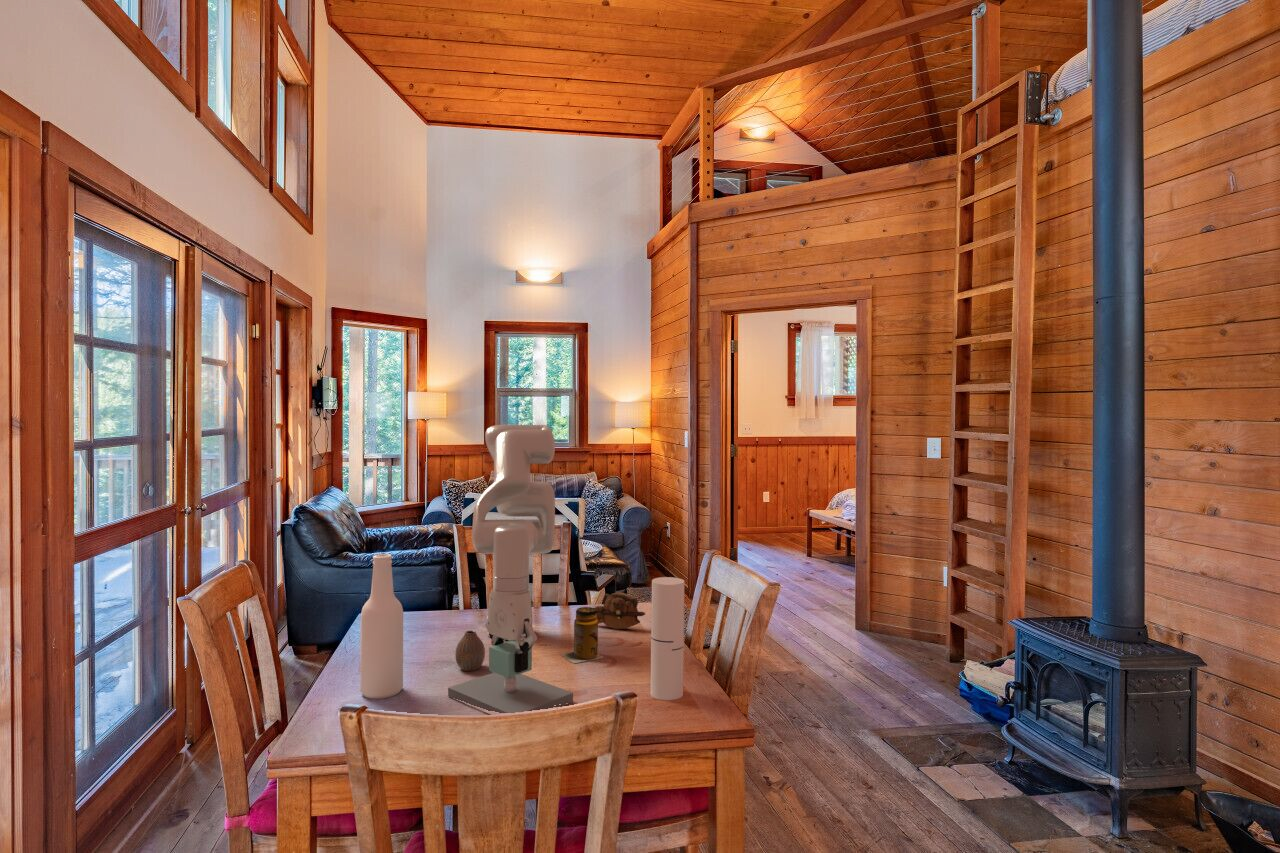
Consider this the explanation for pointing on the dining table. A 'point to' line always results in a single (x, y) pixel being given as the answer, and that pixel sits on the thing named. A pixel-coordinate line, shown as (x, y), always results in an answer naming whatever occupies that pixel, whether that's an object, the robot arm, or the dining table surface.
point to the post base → (510, 693)
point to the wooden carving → (618, 611)
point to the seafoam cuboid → (506, 659)
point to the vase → (470, 652)
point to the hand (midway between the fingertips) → (510, 666)
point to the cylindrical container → (667, 638)
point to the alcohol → (381, 635)
